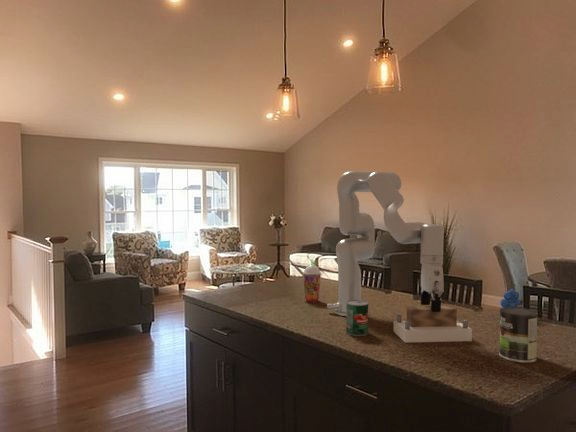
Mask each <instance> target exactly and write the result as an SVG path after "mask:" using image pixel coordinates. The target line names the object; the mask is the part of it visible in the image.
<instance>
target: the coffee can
mask: <svg viewBox="0 0 576 432" xmlns="http://www.w3.org/2000/svg"><path fill="white" fill-rule="evenodd" d="M500 308H501V307H500ZM500 308H499V309H500ZM499 314H500V315H499V353H498V355H499V356H500V358H503V359H504V360H507V361H511V362H514V363H515V362H516V363H523V364H524V363H527V364H528V363H534V362H537V348H538V347H537V346H538V345H537V343H538V338H537V337H538V336H537V335H538V315H539V314H538V312H537V311H536V310H533V309H529V308H524V307H518V306H517V307H505V308H501V309H500V310H499Z"/></svg>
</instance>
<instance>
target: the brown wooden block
mask: <svg viewBox="0 0 576 432" xmlns="http://www.w3.org/2000/svg"><path fill="white" fill-rule="evenodd" d="M457 312H458V310H457V308H456V307H454V306H452V305H441V311H440V312H432V311H431V305H420V306H419V305H415V306H410V305H409V306H406V320H407V321H409V322H410V327H447V326H457V321H458V320H457V318H458V313H457Z"/></svg>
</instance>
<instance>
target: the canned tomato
mask: <svg viewBox="0 0 576 432" xmlns="http://www.w3.org/2000/svg"><path fill="white" fill-rule="evenodd" d="M345 317H346V319H345V320H346V325H345V326H346V327H345V328H346V329H345V330H346V331H345V332H346V334H347V335H349V336H354V337H364V336H367V335H368V334H369V302H368V301H366V300H362V299H361V300H351V301H347V302H346V316H345Z"/></svg>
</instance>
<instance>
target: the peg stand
mask: <svg viewBox="0 0 576 432" xmlns="http://www.w3.org/2000/svg"><path fill="white" fill-rule="evenodd" d="M393 332H394V333H395V335H397V336H398V337H399V338H400V339H401V340H402V341H403V342H404V343H439V342H440V343H441V342H442V343H443V342H446V343H447V342H448V343H449V342H473V329H472V328H470V327H469V321H468V320H467V319H463V320H462V322H461V321H459V320H457V326H447V327H410V322H409V321H407V319H406V320H402V314H396V320H393Z"/></svg>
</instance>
